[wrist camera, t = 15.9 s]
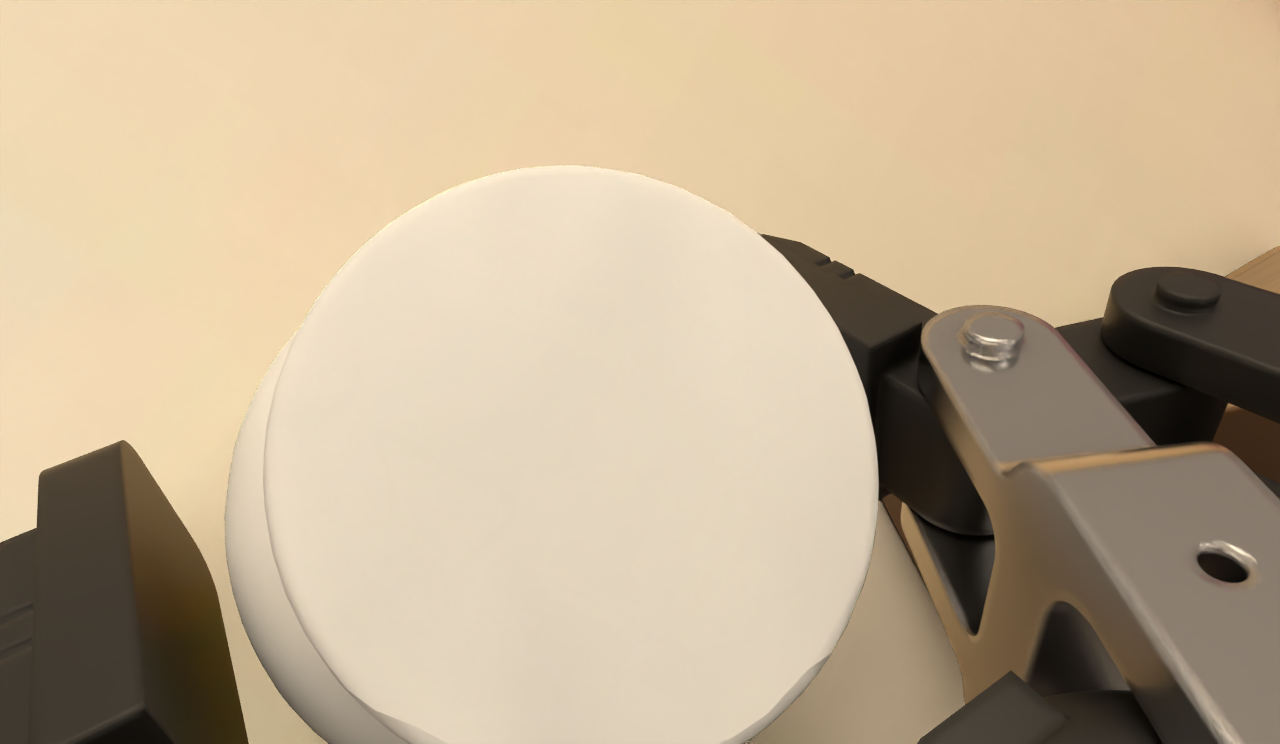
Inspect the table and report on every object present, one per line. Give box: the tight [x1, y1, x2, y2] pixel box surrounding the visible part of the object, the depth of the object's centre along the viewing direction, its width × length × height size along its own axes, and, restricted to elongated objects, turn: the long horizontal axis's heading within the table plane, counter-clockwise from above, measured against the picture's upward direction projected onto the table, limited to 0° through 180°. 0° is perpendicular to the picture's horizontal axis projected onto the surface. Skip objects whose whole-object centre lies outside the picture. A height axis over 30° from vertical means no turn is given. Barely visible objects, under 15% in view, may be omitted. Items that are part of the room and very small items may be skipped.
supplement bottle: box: [225, 166, 879, 744], centre depth 10 cm, size 5×5×10 cm
